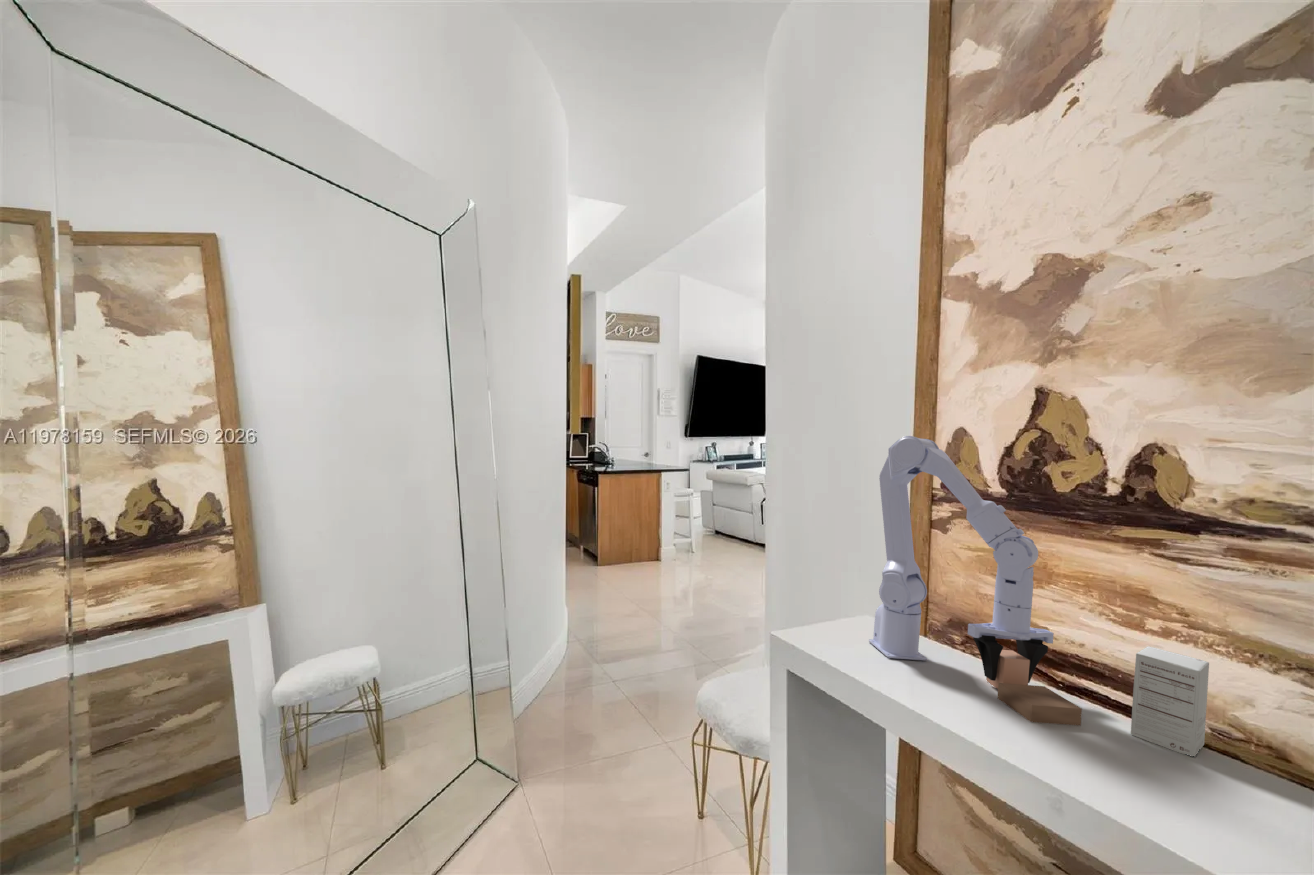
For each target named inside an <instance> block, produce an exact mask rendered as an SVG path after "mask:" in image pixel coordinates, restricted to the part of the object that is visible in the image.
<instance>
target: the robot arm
mask: <svg viewBox="0 0 1314 875" xmlns="http://www.w3.org/2000/svg"><path fill="white" fill-rule="evenodd" d="M887 453H888V455H887V458H886V460H885V461H884V464H883V466H882V469H881V471H880V474H879V487H880V499H881V500H880V501H881V511H882V521H883V532H884V542H885V543H884V544H885V554H886V555H885V556H886V563H885V565H884V568H883V569H882V571H881V573H882V574H881V575H882V580H881V583H880V587H879V590H878V592H879V593H878V594H879V598H880V600H881V602H882V603H881V604H880V605H879V606H878V607H877V609H876V610H875V614H874V625H873V635H872V637H873V638H871V639H868V642H869V643H870V644H871V645H873V646H874V647H875V648H876V649H877V650H878V651H879V652H881V653H882V654H883V655H884V656H886V658H889V659H898V660H911V661H912V660H913V661H928V658H927V657H926V656H925V655H923V654H922V653H921V652H920V651H919V647H920V633H921V619H922V618H921V617H922V608H921V603H923V602H924V601H925V599H926V598H927V595H928V589H927V584H926V583H925V581H924V580H923V577H922V574H921V569H920V567H919V565H918V564H917V562H916V560H915V551H914V541H913V540H914V539H913V531H912V530H913V528H912V520H911V512H910V510H911V509H910V501H909V490H908V484H909V483H910V482H911V481H913V480H914V478H916V476H918V474H921V473H922V472H923V473H925V474H929V475H931V476H935V477H937V478H938V479H939V480H940V481H941V483H943V484H944V485H945V487H946V488H947V489H948V490H949V491H950V492H951V494H953V495H954V497H955V498H956V499H957V500H958V501H959V502H960V503H961V504H962V505H963V506H964V507H965V509H966V517H965V518H966V521H968V523H969V524H970V525H971V526H972V528H973V529H974V530H975V531H976V532H977V534H978V535H979V536H980V537H981V538H982V540H983V541H984V542H985V543H986V544H987V545H988V547H989V548H992V549H993V551H992V555H993V558H994V561H995V562H996V563H997V567H996V576H995V583H994V595H993V596H994V597H993V598H994V599H993V610H992V622H986V623H983V622H981V623H968V624H967V635H969V636H971V637H972V639H973V641H974V643H975V644H976V647H977V649H978V653H979V655H980V657H981V658H980V659H981V662H982V667H983V673H984V677H987V678H989V679H990V680H993V681H995V680H996V677H997V668H998V661H999V657H1000V654H1001V651H1002V650H1004V646H1003V645H1002V644H1000V643H999V642H998V640H997V639H1002V640H1003V639H1004V640H1015V643H1016V648H1017V653H1018V654H1020V655H1022V656H1023V657H1025V658H1027V659H1029V660H1030V665H1029V678H1028V684H1030V682H1031V679H1032V676H1033V674H1034V673H1035V670H1036V668H1037V666H1038V664H1039V662H1040V661H1041V660H1042V658H1043V657H1044V656H1046V654H1048V652H1049V646H1048V645H1046V644H1053V643H1054V636H1055V634H1054V632H1053V631H1050V630H1048V629H1044V628H1036V627H1031V623H1032V621H1031V619H1032V609H1033V608H1032V607H1033V594H1034V566H1033V565H1034V564H1035V563H1036V562H1037V561H1038V559H1039V551H1038V550H1039V549H1038V547H1037V545H1036V544H1035V542H1034V539H1031V538H1030V537H1028V536H1025V532H1024V530H1023V529H1022V528H1017V527H1016V526H1015V524H1014V523H1013V522H1012V521H1011V520H1010V519H1009V518H1008V515H1007V514H1005V512H1007V509H1006V508H1005V507H1004V506H1003V505H1001V504H998V505H997V504H996V502H995V501H992V500H984V499H983V498H982V497H981V496H980V494H979V493H978V491H976V489H975V488H974V487H973V485H972V484H971V483H970V481H969V480H968V479H967V477H965V475H964V474H963V472H962V471H961V470H960V469H959V467H958V466H957V465H956V464H955V463H954V462H953V460H952V459H951V458H950V456H948V454H947V453H946V452H945V451H944V450H943V449H940V448H939V446H938V444H937V443H936V442H935V441H933V440H932V439H928V438H919V437H917V436H913V435H904V436H902V437H901V438H898V439H897V440H896V441H895V442H894V443H892V444H891V446H889V447H888V452H887ZM1043 642H1044V643H1046V644H1044V643H1043Z"/></svg>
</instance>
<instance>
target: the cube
mask: <svg viewBox="0 0 1314 875" xmlns="http://www.w3.org/2000/svg"><path fill="white" fill-rule="evenodd" d="M1029 665H1030V660H1029V659H1027V658H1025V657H1023V656H1022V655H1020V654H1018V652H1016V651H1014V650H1013V649H1012V650H1010V649H1002V651H1001V654H1000V657H999V661H998V668H997V677H996V680H995V681H993V680H990V679H989V678H987V677H986V676H985V677H986V679H985V681H986V680H987V681H988V682H989V683H990V684H989V683H988V682H987V683H988V684H989V685H991V686H992V685H993V686H992V687H994V688H995V689H997V690H998V685H999V683H1008V684H1021V685H1029V683H1028V678H1029Z"/></svg>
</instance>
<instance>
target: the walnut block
mask: <svg viewBox="0 0 1314 875" xmlns="http://www.w3.org/2000/svg"><path fill="white" fill-rule="evenodd" d="M997 699H998V700H999V701H1000V702H1001V703H1004V704H1005V705H1006V706H1007V707H1009V708H1010V709H1011V710H1014V712H1015V713H1017V714H1019V715H1020V716H1022V717H1023V718H1024V719H1026V720H1027V721H1028V722H1030V723H1040V724H1054V725H1056V724H1057V725H1069V726H1081V725H1082V724H1081V723H1082V715H1083V714H1082V713H1083V711H1082V710H1083V709H1082V707H1080V706H1078V705H1077V704H1074V703H1073V702H1071V701H1070V700H1069V699H1066V698H1065V697H1063V696H1061V695H1059V694H1058V693H1056V692H1054V691H1053V690H1051V689H1049V687H1046V686H1045V685H1031V684H1028V685H1021V684H1008V683H999V685H998V689H997Z"/></svg>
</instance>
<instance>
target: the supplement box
mask: <svg viewBox="0 0 1314 875" xmlns="http://www.w3.org/2000/svg"><path fill="white" fill-rule="evenodd" d="M1209 669H1210V662H1208V661H1206V660H1203V659H1200V658H1197V657H1192V656H1188V655H1184V654H1180V653H1176V652H1172V651H1168V650H1164V649H1161V648H1157V647H1153V646H1146V647H1144V648H1143V649H1141V650H1140V651H1137V652H1136V653H1135V664H1134V677H1133V678H1134V679H1133V690H1132V704H1131V705H1132V708H1131V720H1130V721H1131V724H1130V725H1131V726H1130V735H1132V736H1133V737H1136V738H1138V739H1141V740H1144V741H1146V742H1150V743H1152V744H1155V745H1157V746H1160V747H1163V748H1166V749H1169V750H1172V751H1174V752H1176V753H1180V754H1182V755H1185V754H1188V755H1191V756H1195V755H1196V754H1197V753H1198V754H1199V752H1200V751H1199V749H1200V750H1202V748H1203V746H1204V745H1205V738H1206V737H1205V736H1206V735H1205V734H1206V718H1207V704H1208V689H1209V673H1210V671H1209ZM1198 751H1199V752H1198ZM1198 754H1197V755H1198ZM1197 755H1196V756H1197ZM1196 756H1195V757H1196Z"/></svg>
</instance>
